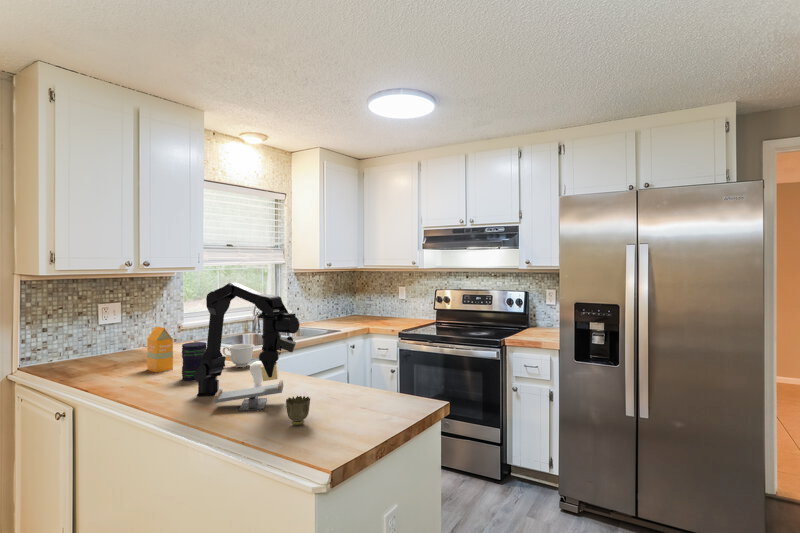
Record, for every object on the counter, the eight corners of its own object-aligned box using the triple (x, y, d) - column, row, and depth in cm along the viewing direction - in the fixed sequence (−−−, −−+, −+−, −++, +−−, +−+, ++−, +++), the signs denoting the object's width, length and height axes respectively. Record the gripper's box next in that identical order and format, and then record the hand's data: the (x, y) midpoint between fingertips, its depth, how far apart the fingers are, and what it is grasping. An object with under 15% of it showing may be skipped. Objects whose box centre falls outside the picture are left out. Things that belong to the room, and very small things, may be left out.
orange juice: (163, 366, 213) (163, 325, 213) (173, 369, 208) (173, 327, 208) (146, 369, 207) (146, 327, 207) (156, 372, 202) (156, 328, 202)
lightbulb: (268, 387, 178) (269, 360, 178) (259, 391, 172) (259, 363, 172) (256, 386, 180) (256, 359, 180) (246, 390, 174) (246, 362, 174)
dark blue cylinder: (176, 380, 189) (176, 345, 189) (194, 374, 198) (194, 341, 198) (193, 382, 185) (193, 346, 185) (211, 376, 194) (211, 343, 194)
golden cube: (262, 381, 154) (261, 367, 153) (264, 377, 158) (262, 363, 158) (277, 379, 154) (276, 365, 154) (278, 375, 159) (277, 361, 159)
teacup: (226, 363, 219) (226, 343, 219) (257, 363, 221) (257, 343, 221) (218, 369, 207) (219, 348, 207) (251, 369, 209) (251, 347, 209)
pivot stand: (238, 411, 149) (238, 401, 149) (244, 400, 160) (244, 390, 160) (263, 410, 150) (263, 399, 150) (267, 399, 162) (267, 389, 162)
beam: (215, 403, 149) (214, 396, 149) (219, 396, 157) (219, 389, 157) (281, 392, 153) (281, 385, 153) (283, 386, 161) (282, 380, 161)
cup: (287, 420, 140) (287, 395, 140) (311, 420, 141) (311, 395, 141) (283, 429, 133) (283, 402, 133) (308, 428, 133) (308, 402, 133)
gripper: (293, 335, 149) (293, 381, 149) (295, 327, 167) (295, 368, 167) (258, 335, 147) (258, 382, 147) (264, 327, 165) (264, 369, 165)
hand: (270, 375), depth 156 cm, fingers closed on golden cube, 5 cm apart
